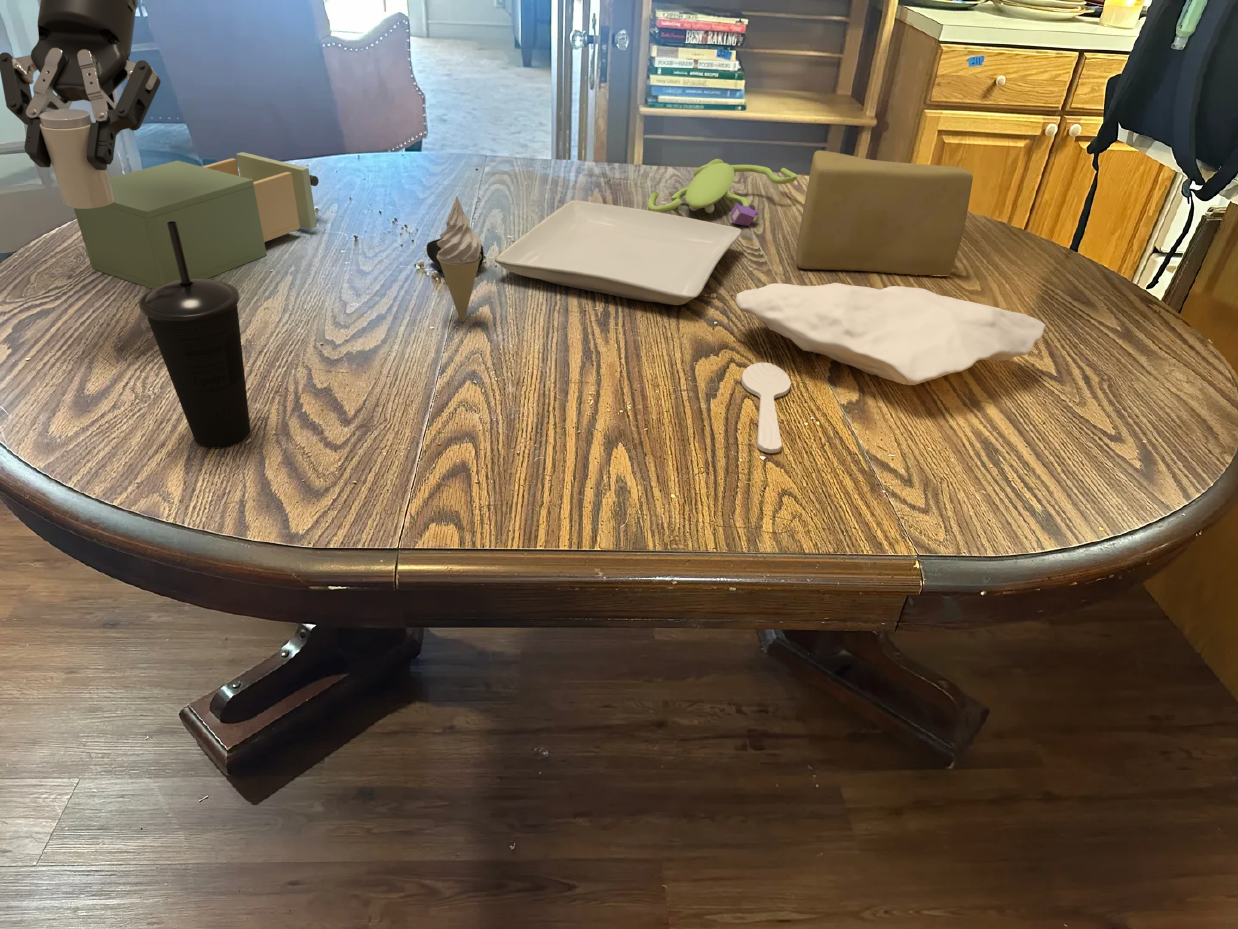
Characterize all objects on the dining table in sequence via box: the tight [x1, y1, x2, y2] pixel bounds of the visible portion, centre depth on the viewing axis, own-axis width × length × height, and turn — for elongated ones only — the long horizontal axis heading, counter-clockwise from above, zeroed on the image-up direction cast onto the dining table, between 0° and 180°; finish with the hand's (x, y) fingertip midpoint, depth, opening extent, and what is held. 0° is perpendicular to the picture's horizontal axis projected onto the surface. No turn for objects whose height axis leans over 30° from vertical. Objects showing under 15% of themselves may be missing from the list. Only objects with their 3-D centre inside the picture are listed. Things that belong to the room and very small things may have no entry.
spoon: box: [740, 361, 792, 454], centre depth 89 cm, size 5×18×1 cm, turn 173°
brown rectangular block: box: [795, 149, 974, 276], centre depth 120 cm, size 22×10×15 cm, turn 81°
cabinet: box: [73, 160, 267, 290], centre depth 108 cm, size 16×14×10 cm
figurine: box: [647, 158, 798, 227], centre depth 143 cm, size 18×27×6 cm
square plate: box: [494, 199, 742, 306], centre depth 118 cm, size 27×27×4 cm
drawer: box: [201, 151, 319, 243], centre depth 118 cm, size 19×12×8 cm, turn 153°
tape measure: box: [426, 237, 485, 273], centre depth 113 cm, size 7×7×4 cm
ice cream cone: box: [437, 195, 482, 323], centre depth 97 cm, size 5×5×15 cm
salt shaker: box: [39, 108, 116, 209], centre depth 80 cm, size 4×4×8 cm
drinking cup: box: [138, 221, 251, 449], centre depth 73 cm, size 8×8×20 cm
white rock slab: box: [735, 282, 1047, 386], centre depth 97 cm, size 24×35×9 cm
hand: (68, 163), depth 78 cm, fingers closed on salt shaker, 4 cm apart
